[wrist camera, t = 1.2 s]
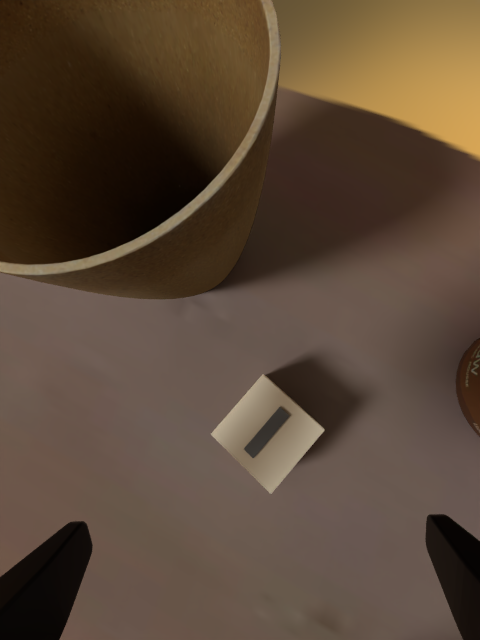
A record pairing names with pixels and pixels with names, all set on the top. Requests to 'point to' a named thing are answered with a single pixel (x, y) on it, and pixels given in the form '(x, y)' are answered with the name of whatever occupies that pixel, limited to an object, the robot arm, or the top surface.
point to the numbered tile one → (267, 433)
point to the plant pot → (133, 140)
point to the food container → (470, 385)
